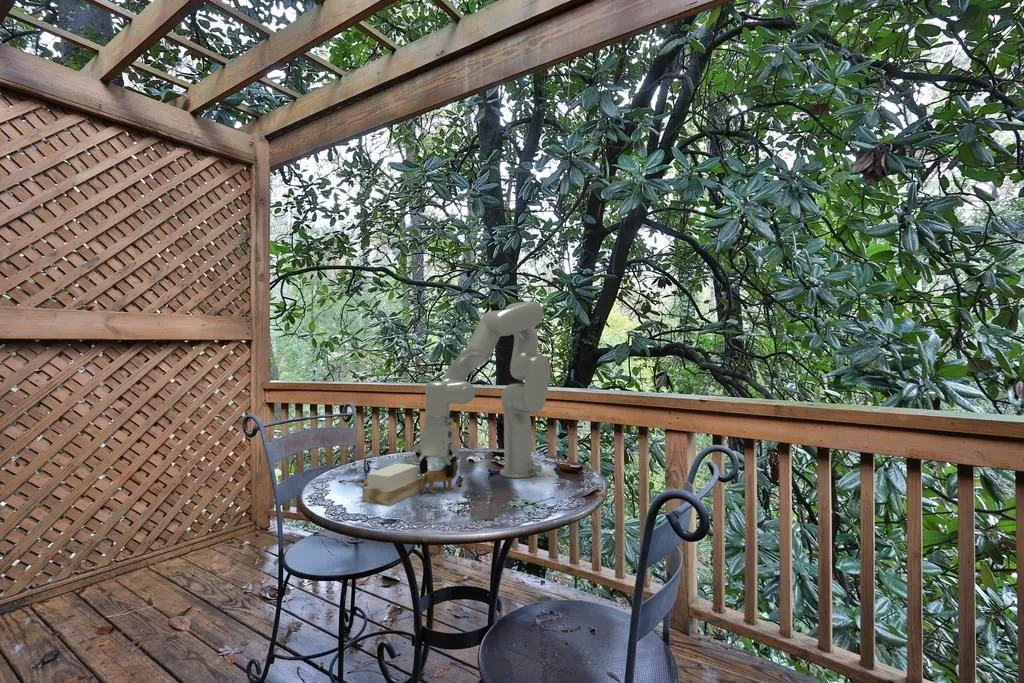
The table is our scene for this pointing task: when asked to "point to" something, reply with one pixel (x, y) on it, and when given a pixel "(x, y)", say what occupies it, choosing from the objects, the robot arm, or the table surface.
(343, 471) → the table surface
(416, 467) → the cream brick
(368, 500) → the oak base brick
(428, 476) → the lion figurine
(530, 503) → the table surface
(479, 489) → the table surface
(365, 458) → the figurine
